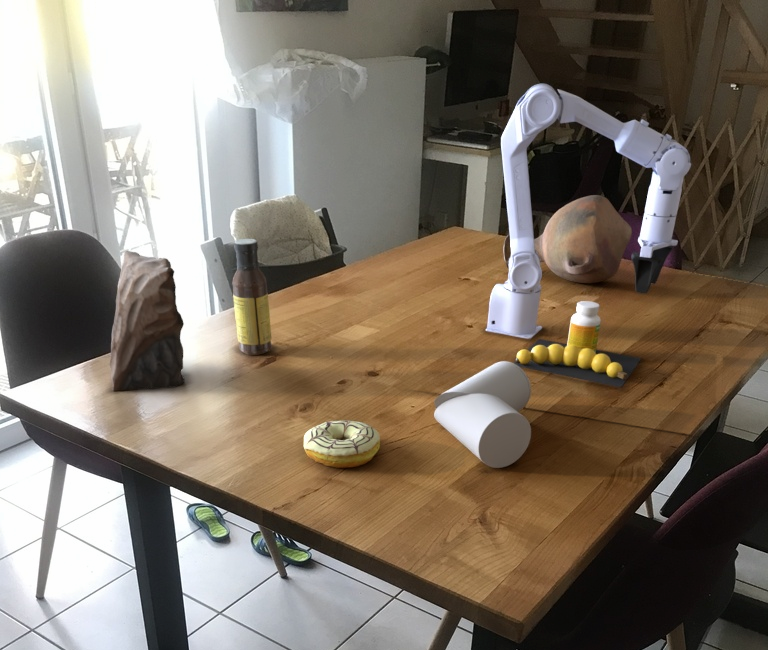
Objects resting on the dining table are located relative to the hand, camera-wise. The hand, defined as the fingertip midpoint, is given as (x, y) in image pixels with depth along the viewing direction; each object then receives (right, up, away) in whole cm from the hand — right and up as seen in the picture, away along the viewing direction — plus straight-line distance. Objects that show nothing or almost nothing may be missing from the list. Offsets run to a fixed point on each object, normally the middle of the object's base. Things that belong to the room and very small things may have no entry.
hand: (645, 287), depth 155 cm
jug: (-7, +14, +42) cm, 45 cm away
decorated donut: (-57, -35, -39) cm, 77 cm away
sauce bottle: (-75, -13, -5) cm, 76 cm away
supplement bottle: (-14, -14, -4) cm, 20 cm away
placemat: (-15, -16, -6) cm, 23 cm away
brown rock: (-91, -21, -18) cm, 95 cm away
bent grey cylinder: (-35, -32, -32) cm, 57 cm away
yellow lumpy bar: (-17, -17, -10) cm, 26 cm away
